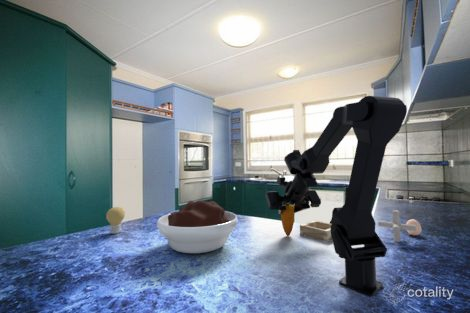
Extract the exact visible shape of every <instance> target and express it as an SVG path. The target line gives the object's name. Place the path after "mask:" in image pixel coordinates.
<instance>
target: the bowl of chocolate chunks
mask: <svg viewBox="0 0 470 313" xmlns="http://www.w3.org/2000/svg"><path fill="white" fill-rule="evenodd" d="M238 219H239V218H238V215H237V214H235V213H234V212H231V211H228V210H225V209H224V208H223V207H221V206H220V205H219V204H218V203H217V202H216V201H213V200H210V201H206V200H201V199H200V200H196V201H194V200H189V201H188V202H187V203H186V204H185V206H183V207H180V208H179V209H178V211H173V212H171V213H167V214H165V215H162V216H161V217H159V219H158V220H157V222H156V226H157V229H158V230H159V232H160V233H161V235H162V236H163V237H164V238H165V239H166V241H167V243H168V245H169V246H170V248H171V249H173V250H174V251H177V252H179V253H183V254H204V253H209V252H213V251H216V250H218V249H220V248H222V247H224V246H225V244H226V243H227V241H228V238H229V237H230V234H232V233H233V231H234V230H235V228H236V227H237V224H238V222H239V220H238Z"/></svg>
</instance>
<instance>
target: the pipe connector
mask: <svg viewBox="0 0 470 313" xmlns="http://www.w3.org/2000/svg"><path fill="white" fill-rule="evenodd" d="M377 224H378V227H384V228H390V229H392V233H393V241H394V242H397V243H400V242H401V230H405V231H407V230H412V231H416V225H409V224H406V223H401V221H400V211H399V210H394V209H393V210H392V222H391V221H384V220H383V221H382V220H378V223H377Z"/></svg>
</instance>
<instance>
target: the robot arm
mask: <svg viewBox="0 0 470 313" xmlns="http://www.w3.org/2000/svg"><path fill="white" fill-rule="evenodd" d="M407 112H408V108H407V105H406V104H405V103H404V101H403V100H402V99H400V98H398V97H392V96H377V95H376V96H375V95H366V96H364V97H362V98H361V99H360V100H359V101H357V102H352V103H351V102H350V103H347V104H345V105H343V106H342V105H341V106H338V107H336V108H335V109H334V111H333V112H332V113H333V114H332V117H331V119H330V121H329V122H328V123H327V125H326V126H325V128H324V129H323V130H322V132H321V133H320V136H319V137H318V138H317V140H316V141H315V143H314V144H313V145H312V147H310V148H307V149H305V150H304V151H303V152H302V153H301V151H300V150H299V149H293V150H292V152H289V153H288V154H286V155H285V156H284V159H283V161H284V162H285V165H286V167H287V169H288V171H289V174H291V175H289V174H287V175H283V174H282V175H278V176H277V178H276V183H277V185H278V186H282V187H283V193H284V194H283V196H282V195H281V194H280V193H279V191H277V190H271V191H266V193H265V195H264V197H265V201H266V204H267V206H268V209H269V210H271V211H273V210H275V211H276V210H278V215H280V216H281V214H282V213H283V212H284V211H285V210H286V207H285V205H286V204H288V203H290V205H293V206H294V214H296V213H299V212H302V211H305V210H308V209H310V208H320V206H321V203H322V199H321V198H320V196H319V194H318V193H317V190H316V189H311V188H315V187H318V186H319V185H318V182H317V178H316V177H315V175H314V174H316V175H317V174H323V173H325V171H326V170H327V168H328V166H329V165H330V156H331V154H333V152H334V151H335V149H336V148H337V147H338V146H339V144H340V143H341V142H342V141H343V139H344V138H346V135H348V133H350V132H349V131H351V129H352V130H353V132H354V135H355V137H356V140H357V143H356V149H355V153H354V158H353V162H352V163H353V164H352V166H351V167H352V168H351V172H350V176H349V181H348V182H349V183H348V186H347V191H346V197H345V202H344V204H343V205H342V206H339V207H334V208H333V209H332V212H331V213H332V214H331V219H330V221H329V223H330V224H331V231H330V232H331V236H332V240H331V241H332V244H333V249H334V252H335V254H337V255H338V258H340V259H344V273H345V275H344V276H343V277H341V278H340V279H339V280H338V284H340V285H342V286H345V287H347V288H349V289H352V290H354V291H357V292H358V293H359V292H360V293H361V294H364V295H366V296H369V297H373V296H374V295H376V293H377V292H379V290H380V289H381V288H382V287H383V282H382V281H379V280H377V272H376V270H377V268H376V267H377V266H376V258H385V257H386V254H387V251H388V248H387V246H386V245H385V244H384V242H383V240H381V238H380V237H379V235H378V233H377V232H376V221H375V219H374V216H373V214H372V207H373V206H372V205H373V202H374V198H375V193H376V190H377V185H378V182H379V177H380V175H381V174H380V172H381V169H382V165H383V160H384V157H385V151H386V149H387V146H388V144H389V143H390V142H391V141H392V139H393V138H394V137H395V136H396V135H398V133H399V132H400V130H401V128H402V125H403V123H404V122H405V118H406V116H407ZM354 246H355V247H354ZM357 246H359V247H357Z"/></svg>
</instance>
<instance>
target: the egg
mask: <svg viewBox="0 0 470 313" xmlns="http://www.w3.org/2000/svg"><path fill="white" fill-rule="evenodd" d="M405 224H409V225H416V231H412V230H406V231H407V232H408V234H410V235H411V236H418V235H419V234H421V233H422V225H421V224H420V222H419V221H418V220H416V219H414V218H412V219H409V220H407V221H406V223H405Z"/></svg>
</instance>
